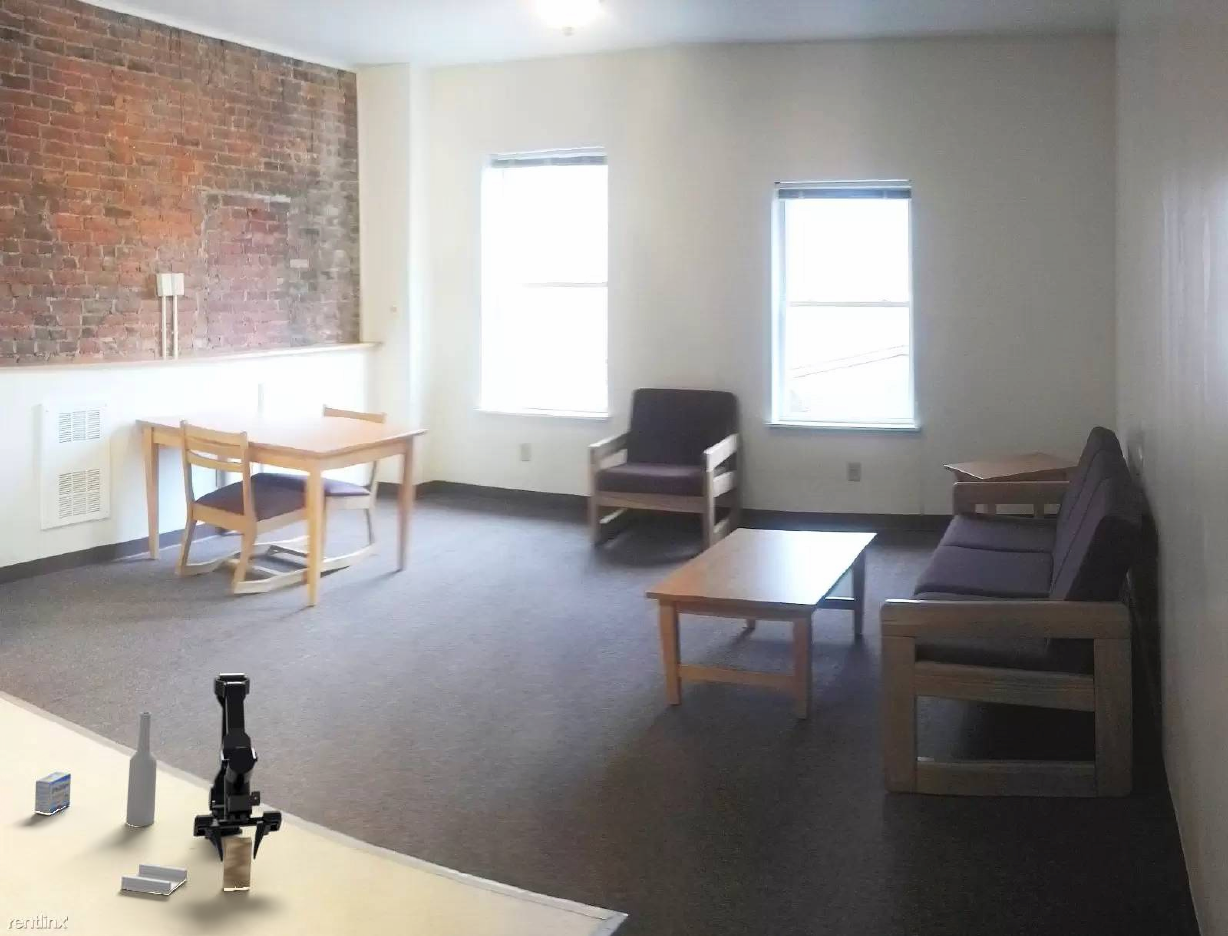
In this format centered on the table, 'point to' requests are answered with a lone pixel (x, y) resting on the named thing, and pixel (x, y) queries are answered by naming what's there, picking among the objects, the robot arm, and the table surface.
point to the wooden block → (237, 862)
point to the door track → (154, 878)
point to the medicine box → (52, 792)
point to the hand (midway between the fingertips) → (238, 859)
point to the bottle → (142, 779)
